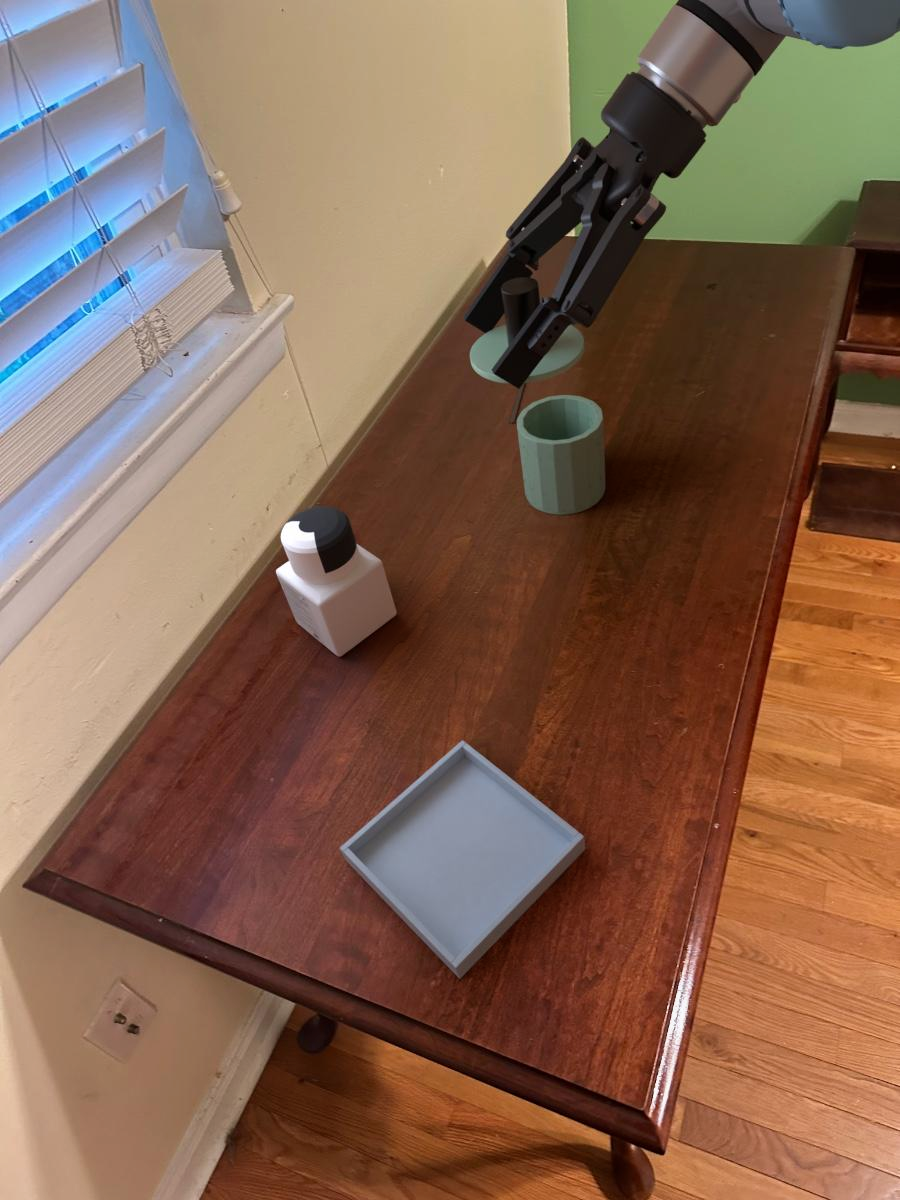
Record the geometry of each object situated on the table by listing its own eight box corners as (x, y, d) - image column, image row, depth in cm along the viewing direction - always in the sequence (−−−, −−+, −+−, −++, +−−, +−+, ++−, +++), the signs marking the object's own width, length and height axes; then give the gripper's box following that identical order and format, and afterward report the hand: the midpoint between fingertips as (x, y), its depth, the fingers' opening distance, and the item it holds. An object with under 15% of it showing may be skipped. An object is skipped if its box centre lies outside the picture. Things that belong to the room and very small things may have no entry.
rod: (509, 426, 108) (508, 422, 107) (530, 348, 120) (530, 344, 120) (514, 426, 108) (514, 421, 107) (535, 348, 120) (534, 344, 120)
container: (353, 582, 91) (321, 486, 82) (398, 615, 87) (370, 517, 78) (295, 623, 88) (256, 528, 79) (339, 659, 84) (303, 563, 74)
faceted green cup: (621, 483, 96) (620, 411, 89) (568, 525, 92) (562, 454, 86) (561, 456, 101) (556, 386, 94) (509, 494, 98) (499, 425, 91)
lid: (608, 349, 73) (606, 273, 68) (529, 403, 69) (521, 326, 64) (525, 321, 78) (518, 249, 74) (448, 369, 75) (435, 296, 70)
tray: (585, 849, 66) (584, 836, 64) (459, 979, 60) (455, 968, 59) (465, 753, 74) (462, 739, 72) (345, 860, 68) (339, 847, 67)
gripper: (776, 175, 56) (562, 437, 66) (648, 96, 72) (491, 318, 82) (704, 105, 52) (488, 395, 62) (585, 38, 68) (428, 278, 78)
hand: (489, 351), depth 72 cm, fingers closed on lid, 9 cm apart
